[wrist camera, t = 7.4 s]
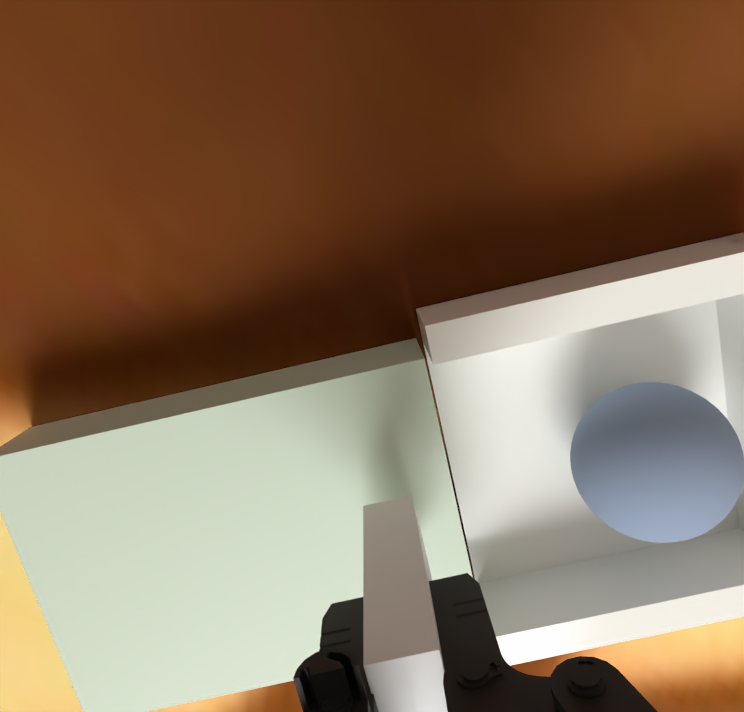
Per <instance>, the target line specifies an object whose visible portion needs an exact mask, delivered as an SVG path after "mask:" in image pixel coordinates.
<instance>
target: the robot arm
mask: <svg viewBox="0 0 744 712" xmlns="http://www.w3.org/2000/svg"><path fill="white" fill-rule="evenodd" d="M293 680H294V683H295V686H296V690H297V693H298V696H299V699H300V702H301V706H302V709H303V712H657V711H656V710H655V709H654V708H653V707H652V705H651V704H650V703H649V702H648V701H647V700H646V699H645V698H644V697H643V696H642V695H641V694H640V693H639V692H638V691H637V690H636V689H635V687H634V686H633V685H632V684H631V683H630V682H629V681H628V680H627V679H626V678H625V677H624V676H623V675H622V674H621V673H620V672H619V671H618V670H617V669H616V668H615V667H614V666H612V665H611V664H609V663H608V662H607V661H604V660H601V659H598V658H595V657H582V656H579V657H575V658H571V659H567V660H565V661H564V662H562V663H561V664H559V665H558V666H557V667H556V668H555V670H554V671H553V673H552V674H551V677H541V676H533V675H527V674H524V673H522V672H519V671H517V670H515V669H514V668H512V667H511V666H510V665H509V664H508V663H507V662H506V661H505V660H504V658H503V656H502V654H501V651H500V648H499V645H498V642H497V639H496V635H495V632H494V629H493V626H492V622H491V619H490V616H489V613H488V610H487V606H486V603H485V600H484V597H483V594H482V590H481V587H480V584H479V583H478V582H477V581H476V580H475V579H474V578H473V577H471V576H470V575H469V574H468V573H465V574H460V575H456V576H451V577H446V578H442V579H437V580H432V576H431V571H430V567H429V563H428V559H427V555H426V550H425V546H424V542H423V538H422V534H421V529H420V525H419V521H418V517H417V513H416V508H415V504H414V500H413V496H412V495H410V496H405V497H401V498H396V499H392V500H387V501H383V502H378V503H374V504H369V505H365V506H363V597H360V598H356V599H351V600H346V601H342V602H337V603H332V604H331V605H330V607H329V609H328V610H327V612H326V614H325V615H324V617H323V618H322V627H321V637H320V649H319V652H316V653H314V654H313V655H311V656H310V657H308V658H307V659H305V660H304V661H303V662H302V663H301V665H300V666H299V667H298V668H297V670H296V672H295V675H294V678H293Z"/></svg>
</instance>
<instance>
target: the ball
mask: <svg viewBox="0 0 744 712" xmlns="http://www.w3.org/2000/svg"><path fill="white" fill-rule="evenodd" d="M570 463H571V471H572V475H573V479H574V482H575V484H576V487H577V489H578V492H579V494H580V495H581V497H582V499H583V500H584V502H585V503H586V505H587V506H588V507H589V508H590V510H591V511H592V512H593V513H594V514H595V515H596V516H597V517H598V518H599V519H600V520H602V521H603V522H604V523H605V524H607V525H608V526H609V527H611V528H613V529H614V530H616V531H618V532H620V533H622V534H624V535H627V536H629V537H632V538H635V539H638V540H642V541H648V542H654V543H673V542H680V541H686V540H689V539H692V538H695V537H697V536H700V535H702V534H704V533H706V532H708V531H709V530H711V529H712V528H714V527H715V526H716V525H718V524H719V523H720V522H721V521H722V520H723V519H725V517H726V516H727V515H728V514H729V513H730V511H731V510H732V509H733V507H734V505H735V504H736V502H737V500H738V498H739V495H740V493H741V490H742V486H743V482H744V455H743V450H742V447H741V444H740V441H739V438H738V436H737V434H736V432H735V430H734V429H733V427H732V425H731V424H730V422H729V421H728V419H727V418H726V417H725V416H724V415H723V414H722V413H721V412H720V410H719V409H718V408H716V407H715V406H714V405H713V404H711V403H710V402H709V401H708V400H706V399H705V398H703V397H701V396H700V395H698V394H696V393H694V392H692V391H690V390H688V389H685V388H682V387H679V386H676V385H671V384H666V383H657V382H644V383H636V384H631V385H627V386H624V387H621V388H618V389H615V390H613V391H611V392H610V393H608V394H606V395H605V396H603V397H602V398H600V399H599V400H597V401H596V402H595V403H594V404H593V405H592V406H591V407H590V408H589V409H588V410H587V411H586V413H585V414H584V415H583V417H582V418H581V420H580V422H579V423H578V425H577V427H576V430H575V432H574V435H573V439H572V444H571V450H570Z"/></svg>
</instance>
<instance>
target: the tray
mask: <svg viewBox="0 0 744 712" xmlns="http://www.w3.org/2000/svg"><path fill="white" fill-rule="evenodd" d="M416 313H417V317H418V322H419V326H420V331H421V336H422V340H423V345H424V349H425V354H426V358H427V363H428V368H429V372H430V377H431V381H432V386H433V390H434V395H435V399H436V404H437V409H438V413H439V418H440V422H441V427H442V431H443V436H444V441H445V445H446V450H447V454H448V459H449V463H450V468H451V472H452V477H453V482H454V486H455V491H456V495H457V500H458V504H459V509H460V514H461V518H462V523H463V527H464V532H465V536H466V541H467V545H468V550H469V555H470V559H471V564H472V568H473V573H474V577H475V580H476V581H477V582H478V583H479V584H480V587H481V590H482V594H483V597H484V600H485V603H486V606H487V610H488V613H489V616H490V619H491V622H492V626H493V629H494V632H495V635H496V639H497V642H498V645H499V648H500V651H501V654H502V656H503V658H504V660H505V661H506V662H507V663H508V664H509V665H514V664H519V663H524V662H529V661H533V660H538V659H543V658H548V657H553V656H557V655H562V654H567V653H572V652H577V651H581V650H586V649H591V648H596V647H601V646H605V645H610V644H615V643H620V642H625V641H629V640H634V639H639V638H644V637H649V636H653V635H658V634H663V633H668V632H673V631H677V630H682V629H687V628H692V627H696V626H701V625H706V624H711V623H716V622H720V621H725V620H730V619H735V618H740V617H744V482H743V486H742V490H741V493H740V495H739V498H738V500H737V502H736V504H735V505H734V507H733V509H732V510H731V511H730V513H729V514H728V515H727V516H726V517H725V519H723V520H722V521H721V522H720V523H719V524H718V525H716V526H715V527H714V528H712V529H711V530H709V531H708V532H706V533H704V534H702V535H700V536H697V537H695V538H692V539H689V540H686V541H680V542H673V543H654V542H648V541H642V540H638V539H635V538H632V537H629V536H627V535H624V534H622V533H620V532H618V531H616V530H614V529H613V528H611V527H609V526H608V525H607V524H605V523H604V522H603V521H602V520H600V519H599V518H598V517H597V516H596V515H595V514H594V513H593V512H592V511H591V510H590V508H589V507H588V506H587V505H586V503H585V502H584V500H583V499H582V497H581V495H580V494H579V492H578V489H577V487H576V484H575V482H574V479H573V475H572V471H571V463H570V450H571V444H572V439H573V435H574V432H575V430H576V427H577V425H578V423H579V422H580V420H581V418H582V417H583V415H584V414H585V413H586V411H587V410H588V409H589V408H590V407H591V406H592V405H593V404H594V403H595V402H596V401H597V400H599V399H600V398H602V397H603V396H605V395H606V394H608V393H610V392H611V391H613V390H615V389H618V388H621V387H624V386H627V385H631V384H636V383H644V382H657V383H666V384H671V385H676V386H679V387H682V388H685V389H688V390H690V391H692V392H694V393H696V394H698V395H700V396H701V397H703V398H705V399H706V400H708V401H709V402H710V403H711V404H713V405H714V406H715V407H716V408H718V409H719V410H720V412H721V413H722V414H723V415H724V416H725V417H726V418H727V419H728V421H729V422H730V424H731V425H732V427H733V429H734V430H735V432H736V434H737V436H738V438H739V441H740V444H741V447H742V450H743V455H744V233H738V234H734V235H729V236H725V237H721V238H717V239H712V240H708V241H704V242H699V243H695V244H691V245H687V246H682V247H678V248H674V249H669V250H665V251H661V252H656V253H652V254H648V255H644V256H639V257H635V258H631V259H626V260H622V261H618V262H614V263H609V264H605V265H601V266H596V267H592V268H588V269H584V270H579V271H575V272H571V273H566V274H562V275H558V276H554V277H549V278H545V279H541V280H536V281H532V282H528V283H524V284H519V285H515V286H511V287H506V288H502V289H498V290H494V291H489V292H485V293H481V294H476V295H472V296H468V297H464V298H459V299H455V300H451V301H446V302H442V303H438V304H434V305H429V306H425V307H421V308H416Z"/></svg>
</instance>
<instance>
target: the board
mask: <svg viewBox="0 0 744 712" xmlns="http://www.w3.org/2000/svg"><path fill="white" fill-rule="evenodd" d="M410 495H412V496H413V500H414V504H415V508H416V513H417V517H418V521H419V525H420V529H421V534H422V538H423V542H424V546H425V550H426V555H427V559H428V563H429V567H430V571H431V576H432V580H437V579H442V578H446V577H451V576H456V575H460V574H465V573H468V574H469V575H470V576H471V577H473V576H472V572H471V567H470V563H469V558H468V554H467V549H466V544H465V540H464V535H463V531H462V526H461V522H460V517H459V513H458V508H457V504H456V499H455V494H454V490H453V485H452V481H451V476H450V472H449V467H448V463H447V458H446V453H445V449H444V444H443V440H442V435H441V431H440V426H439V422H438V417H437V413H436V408H435V403H434V399H433V394H432V390H431V385H430V381H429V376H428V372H427V367H426V363H425V358H424V356H423V353H422V351H421V349H420V346H419V344H418V341H417V339H416V338H413V339H409V340H405V341H400V342H396V343H392V344H387V345H383V346H379V347H374V348H370V349H366V350H362V351H357V352H353V353H349V354H344V355H340V356H336V357H331V358H327V359H323V360H318V361H314V362H310V363H305V364H301V365H297V366H292V367H288V368H284V369H279V370H275V371H271V372H266V373H262V374H258V375H253V376H249V377H245V378H241V379H236V380H232V381H228V382H223V383H219V384H215V385H210V386H206V387H202V388H197V389H193V390H189V391H184V392H180V393H176V394H171V395H167V396H163V397H158V398H154V399H150V400H145V401H141V402H137V403H132V404H128V405H124V406H119V407H115V408H111V409H107V410H102V411H98V412H94V413H89V414H85V415H81V416H76V417H72V418H68V419H63V420H59V421H55V422H50V423H46V424H42V425H37V426H33V427H30V428H29V429H27V430H26V431H24V432H22V433H21V434H19V435H18V436H16V437H15V438H13V439H12V440H10V441H9V442H7V443H6V444H4V445H3V446H1V447H0V512H1V514H2V517H3V519H4V522H5V524H6V526H7V529H8V531H9V534H10V536H11V538H12V541H13V543H14V546H15V548H16V551H17V553H18V555H19V558H20V560H21V563H22V565H23V567H24V570H25V572H26V575H27V577H28V580H29V582H30V584H31V587H32V589H33V592H34V594H35V596H36V599H37V601H38V604H39V606H40V609H41V611H42V613H43V616H44V618H45V621H46V623H47V625H48V628H49V630H50V633H51V635H52V638H53V640H54V642H55V645H56V647H57V650H58V652H59V654H60V657H61V659H62V662H63V664H64V667H65V669H66V671H67V674H68V676H69V679H70V681H71V683H72V686H73V688H74V691H75V693H76V696H77V698H78V700H79V703H80V705H81V708H82V710H83V712H146V711H151V710H156V709H161V708H165V707H170V706H175V705H180V704H184V703H189V702H194V701H199V700H203V699H208V698H213V697H218V696H222V695H227V694H232V693H237V692H241V691H246V690H251V689H256V688H260V687H265V686H270V685H275V684H279V683H284V682H289V681H294V680H293V678H294V675H295V672H296V670H297V668H298V667H299V666H300V665H301V663H302V662H303V661H304V660H305V659H307V658H308V657H310V656H311V655H313V654H314V653H316V652H319V649H320V637H321V627H322V618H323V617H324V615H325V614H326V612H327V610H328V609H329V607H330V605H331V604H332V603H337V602H342V601H346V600H351V599H356V598H360V597H363V506H365V505H369V504H374V503H378V502H383V501H387V500H392V499H396V498H401V497H405V496H410Z"/></svg>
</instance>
